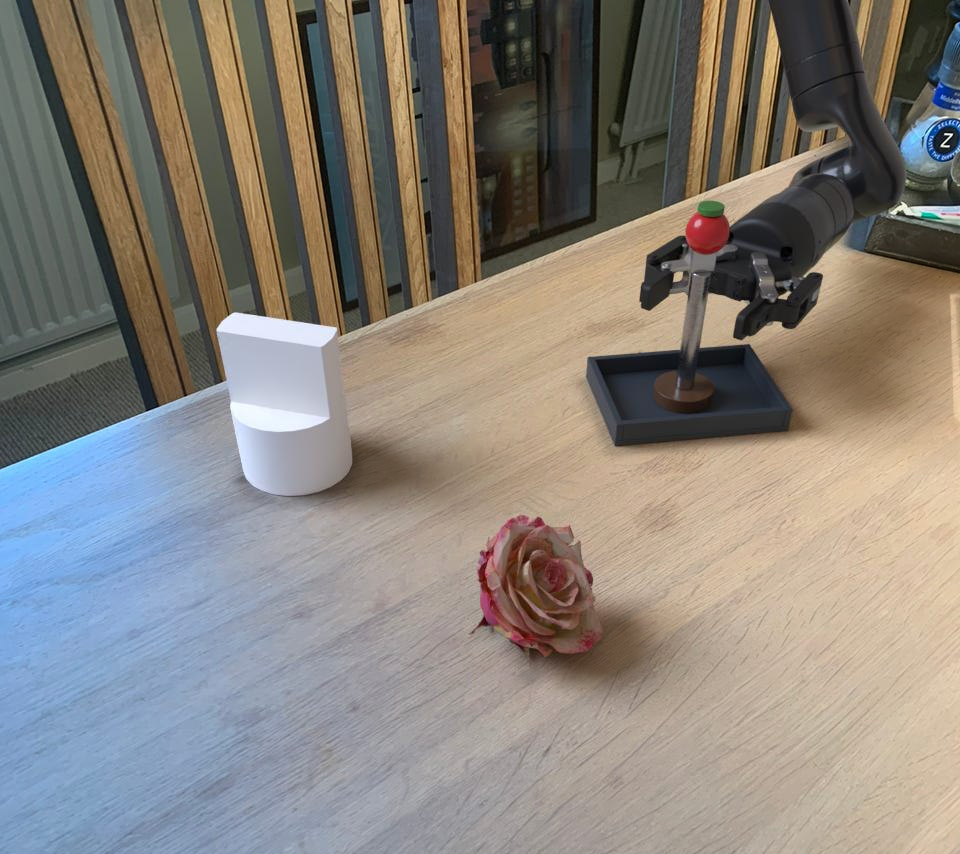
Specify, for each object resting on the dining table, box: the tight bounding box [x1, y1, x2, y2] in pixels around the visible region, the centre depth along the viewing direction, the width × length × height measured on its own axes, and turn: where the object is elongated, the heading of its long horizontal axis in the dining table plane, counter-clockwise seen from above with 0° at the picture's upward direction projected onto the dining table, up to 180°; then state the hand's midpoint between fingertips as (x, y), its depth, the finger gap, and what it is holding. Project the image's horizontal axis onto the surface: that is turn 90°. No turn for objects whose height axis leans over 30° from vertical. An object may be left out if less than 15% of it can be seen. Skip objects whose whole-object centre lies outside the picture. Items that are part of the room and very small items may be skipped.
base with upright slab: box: [216, 311, 353, 497], centre depth 81 cm, size 9×9×12 cm
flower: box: [468, 514, 604, 668], centre depth 68 cm, size 10×9×8 cm
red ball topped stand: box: [653, 200, 731, 413], centre depth 85 cm, size 5×5×17 cm
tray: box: [585, 343, 794, 447], centre depth 90 cm, size 15×11×2 cm
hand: (690, 313), depth 83 cm, fingers open, 8 cm apart
